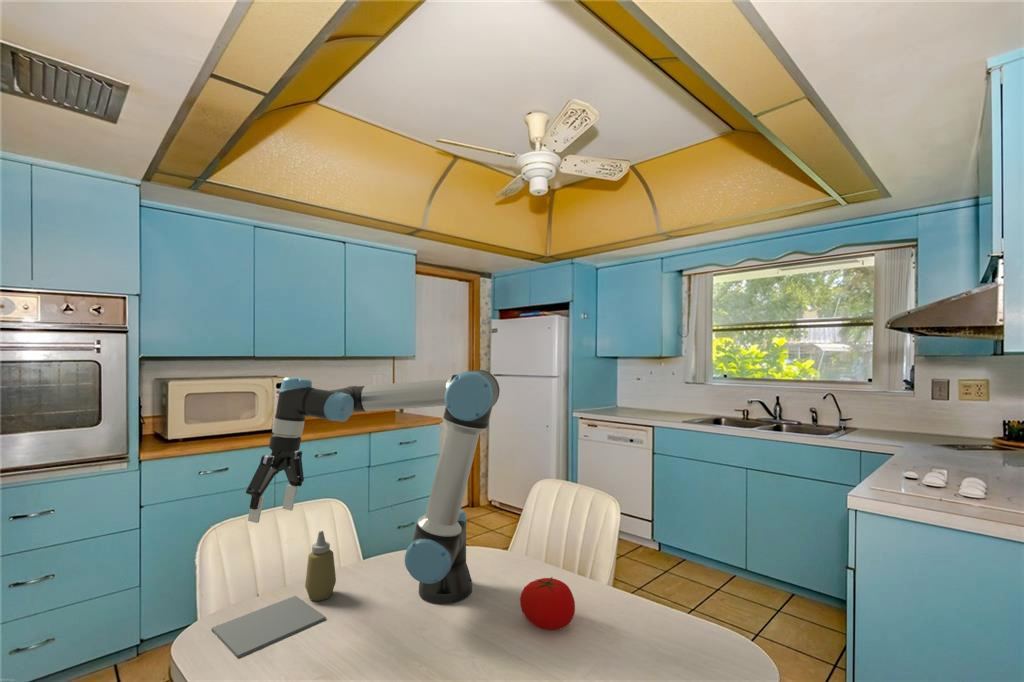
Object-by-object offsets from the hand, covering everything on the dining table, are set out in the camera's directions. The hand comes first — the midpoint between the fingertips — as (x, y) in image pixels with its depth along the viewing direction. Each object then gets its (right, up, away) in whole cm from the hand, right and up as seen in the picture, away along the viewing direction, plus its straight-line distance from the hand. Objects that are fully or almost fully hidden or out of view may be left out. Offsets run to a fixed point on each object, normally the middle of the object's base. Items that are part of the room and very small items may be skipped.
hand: (271, 515), depth 131 cm
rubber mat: (+3, -25, -7) cm, 26 cm away
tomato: (+73, -25, -6) cm, 77 cm away
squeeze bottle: (+10, -25, +8) cm, 28 cm away
